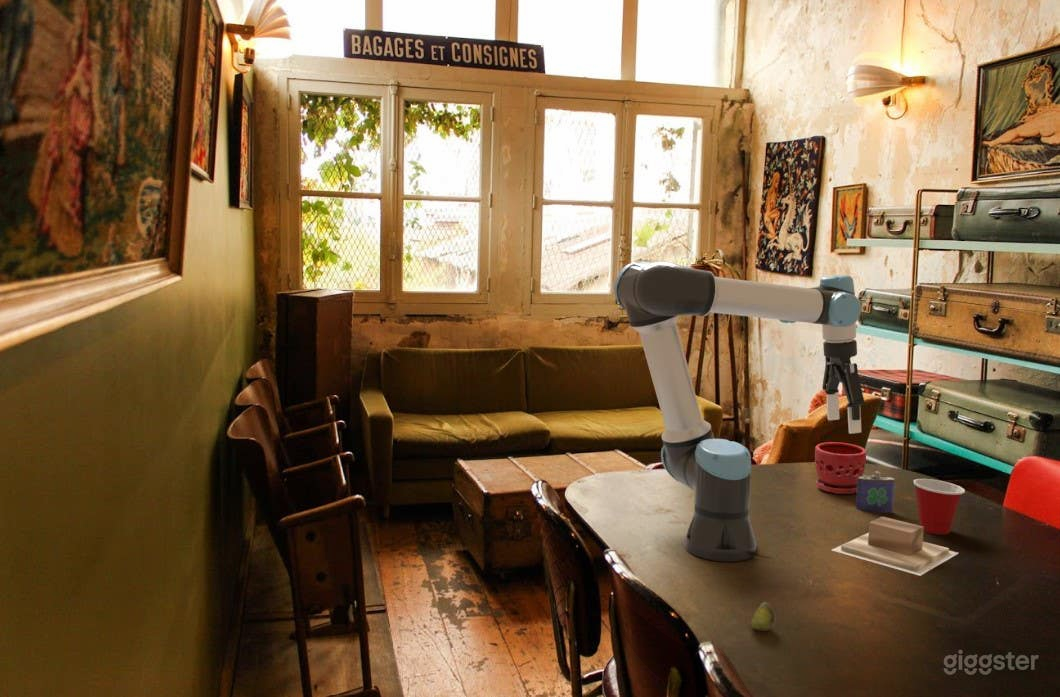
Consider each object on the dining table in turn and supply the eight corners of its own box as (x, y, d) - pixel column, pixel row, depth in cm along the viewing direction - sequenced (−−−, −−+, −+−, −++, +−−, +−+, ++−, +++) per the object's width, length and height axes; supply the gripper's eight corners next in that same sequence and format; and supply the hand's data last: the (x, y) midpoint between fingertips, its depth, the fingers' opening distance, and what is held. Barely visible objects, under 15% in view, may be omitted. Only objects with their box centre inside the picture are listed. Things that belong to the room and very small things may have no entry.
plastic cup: (968, 544, 187) (971, 491, 185) (916, 540, 189) (919, 489, 187) (954, 528, 197) (957, 479, 196) (905, 525, 199) (908, 476, 198)
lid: (915, 571, 168) (917, 542, 167) (840, 550, 180) (842, 523, 179) (948, 552, 178) (950, 525, 178) (876, 533, 190) (877, 508, 189)
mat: (919, 580, 166) (920, 575, 166) (830, 554, 180) (830, 550, 180) (958, 557, 178) (958, 553, 178) (872, 534, 192) (872, 530, 192)
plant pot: (803, 486, 232) (805, 444, 230) (838, 481, 237) (840, 440, 236) (838, 499, 220) (840, 455, 219) (875, 493, 225) (877, 450, 224)
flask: (891, 511, 210) (893, 469, 209) (895, 515, 207) (898, 473, 206) (854, 510, 210) (856, 469, 209) (858, 514, 207) (860, 472, 206)
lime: (750, 635, 142) (751, 607, 141) (748, 622, 147) (749, 595, 146) (777, 637, 141) (778, 609, 141) (774, 624, 146) (775, 597, 145)
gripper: (877, 345, 187) (881, 437, 190) (835, 331, 212) (839, 413, 215) (844, 349, 187) (848, 440, 190) (806, 335, 212) (810, 416, 215)
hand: (844, 426), depth 203 cm, fingers open, 13 cm apart
